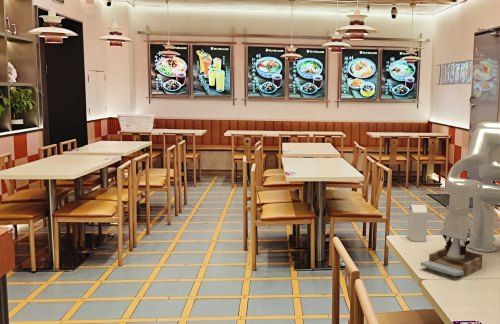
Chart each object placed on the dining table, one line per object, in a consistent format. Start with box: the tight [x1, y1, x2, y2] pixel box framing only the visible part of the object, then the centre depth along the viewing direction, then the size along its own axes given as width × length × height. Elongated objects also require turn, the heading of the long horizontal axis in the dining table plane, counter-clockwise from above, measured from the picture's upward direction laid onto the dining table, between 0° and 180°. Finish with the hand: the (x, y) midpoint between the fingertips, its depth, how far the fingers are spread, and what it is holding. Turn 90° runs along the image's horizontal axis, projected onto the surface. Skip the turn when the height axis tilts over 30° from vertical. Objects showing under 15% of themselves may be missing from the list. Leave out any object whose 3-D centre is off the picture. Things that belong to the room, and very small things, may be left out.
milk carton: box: [406, 202, 428, 242], centre depth 235 cm, size 7×7×19 cm
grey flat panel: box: [420, 260, 464, 277], centre depth 192 cm, size 2×15×7 cm
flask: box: [446, 238, 465, 259], centre depth 198 cm, size 7×7×10 cm
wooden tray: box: [428, 245, 483, 277], centre depth 199 cm, size 14×16×6 cm
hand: (455, 252), depth 199 cm, fingers closed on flask, 5 cm apart
